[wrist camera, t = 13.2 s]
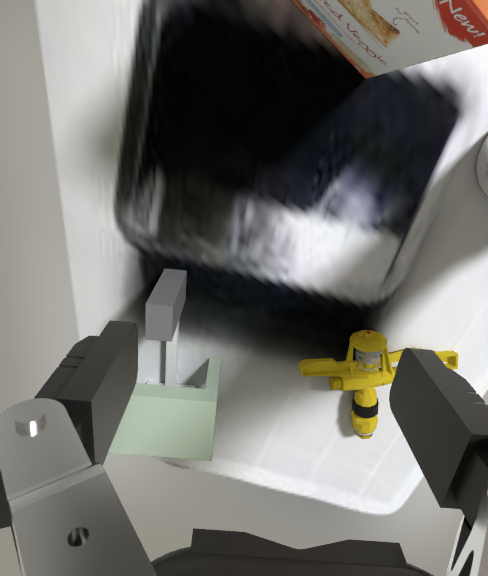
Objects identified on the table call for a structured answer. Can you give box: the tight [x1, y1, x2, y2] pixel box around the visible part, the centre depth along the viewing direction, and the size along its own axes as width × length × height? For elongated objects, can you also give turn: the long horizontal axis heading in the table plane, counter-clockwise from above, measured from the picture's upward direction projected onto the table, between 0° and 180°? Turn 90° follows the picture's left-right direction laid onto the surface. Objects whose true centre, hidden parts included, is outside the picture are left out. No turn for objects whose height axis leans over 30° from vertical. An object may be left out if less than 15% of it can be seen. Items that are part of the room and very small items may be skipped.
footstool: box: [108, 358, 221, 461], centre depth 45 cm, size 12×8×8 cm, turn 84°
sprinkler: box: [298, 330, 458, 439], centre depth 47 cm, size 19×4×15 cm
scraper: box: [145, 269, 196, 388], centre depth 42 cm, size 6×16×9 cm, turn 174°
